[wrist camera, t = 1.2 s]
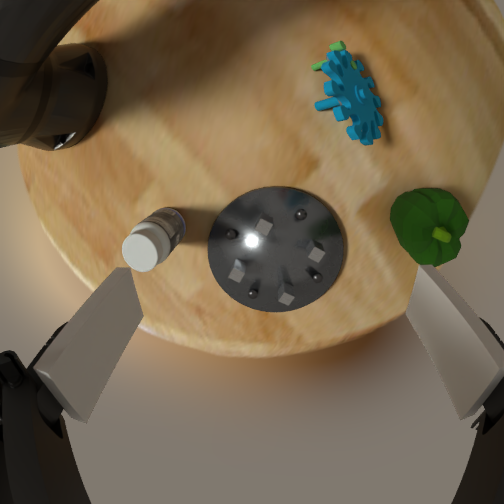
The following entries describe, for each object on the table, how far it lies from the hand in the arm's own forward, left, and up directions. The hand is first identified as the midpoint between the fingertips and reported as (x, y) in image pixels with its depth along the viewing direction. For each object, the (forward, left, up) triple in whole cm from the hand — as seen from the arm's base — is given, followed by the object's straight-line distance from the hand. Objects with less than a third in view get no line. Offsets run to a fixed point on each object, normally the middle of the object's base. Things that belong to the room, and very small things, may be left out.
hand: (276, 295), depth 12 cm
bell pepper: (+15, +7, -20) cm, 26 cm away
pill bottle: (-10, -9, -20) cm, 24 cm away
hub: (+3, -6, -20) cm, 21 cm away
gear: (+1, +14, -20) cm, 25 cm away
